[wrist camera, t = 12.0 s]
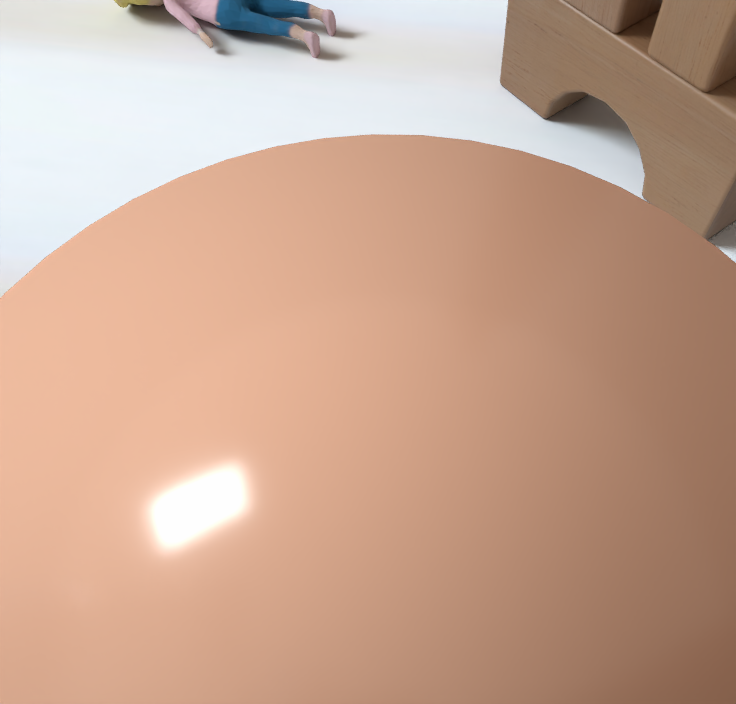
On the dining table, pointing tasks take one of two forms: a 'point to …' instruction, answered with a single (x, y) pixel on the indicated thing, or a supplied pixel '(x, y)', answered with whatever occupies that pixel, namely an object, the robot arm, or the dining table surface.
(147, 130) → the dining table surface
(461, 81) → the dining table surface
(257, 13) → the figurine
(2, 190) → the dining table surface
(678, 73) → the wooden toy
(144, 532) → the tan domed cylinder
